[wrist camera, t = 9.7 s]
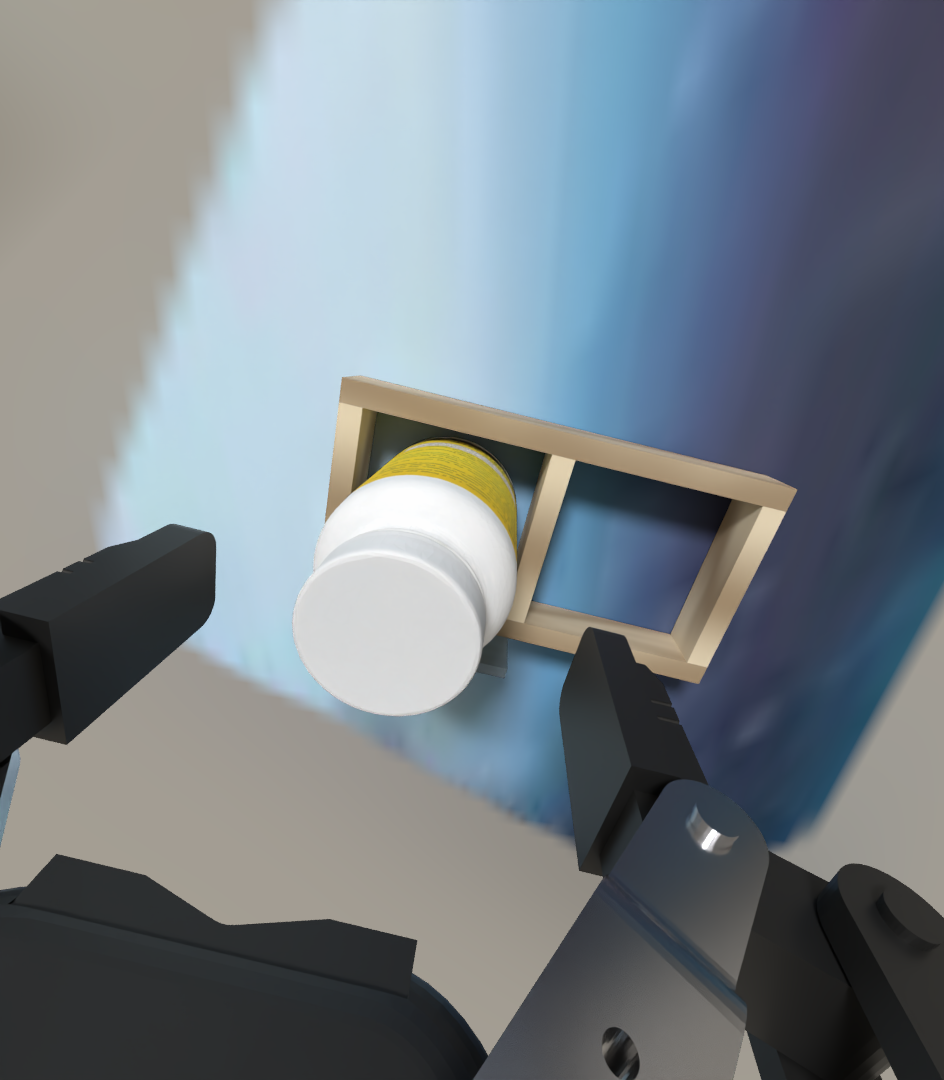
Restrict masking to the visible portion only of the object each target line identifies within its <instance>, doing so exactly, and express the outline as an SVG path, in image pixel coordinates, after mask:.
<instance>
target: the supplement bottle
mask: <svg viewBox="0 0 944 1080" xmlns="http://www.w3.org/2000/svg"><path fill="white" fill-rule="evenodd" d="M516 584H517V504H516V495H515V491H514V487H513V484H512V482H511V479H510V477H509V475H508V473H507V471H506V470H505V468H504V467H503V465H502V464H501V463H500V462H499V460H498V459H497V458H496V457H495V456H494V455H492V454H491V453H490V452H489V451H487V450H486V449H485V448H483V447H481V446H480V445H478V444H476V443H473V442H471V441H468V440H465V439H461V438H456V437H435V438H430V439H426V440H422V441H420V442H417V443H415V444H413V445H411V446H409V447H407V448H406V449H404V450H403V451H402V452H400V453H399V454H397V455H396V456H395V457H394V458H393V459H392V460H391V461H389V462H388V463H387V464H386V465H384V466H383V467H382V468H381V469H380V470H379V471H377V472H376V473H375V474H374V475H373V476H372V477H370V478H369V479H368V480H367V481H366V482H364V483H363V484H362V485H360V486H359V487H358V488H357V489H355V490H354V491H353V492H352V493H351V494H350V495H349V496H348V497H347V498H345V500H344V501H343V502H342V503H341V504H340V505H339V506H338V507H337V508H336V509H335V510H334V512H333V513H332V514H331V515H330V517H329V518H328V520H327V521H326V523H325V525H324V527H323V529H322V531H321V533H320V536H319V538H318V541H317V545H316V549H315V554H314V564H313V573H312V575H311V576H310V577H309V578H308V579H307V581H306V582H305V584H304V585H303V587H302V588H301V590H300V593H299V595H298V597H297V600H296V603H295V607H294V612H293V620H292V626H293V637H294V642H295V645H296V648H297V651H298V653H299V656H300V658H301V660H302V662H303V664H304V665H305V667H306V668H307V670H308V672H309V673H310V674H311V675H312V677H313V678H314V679H315V680H316V681H317V682H318V683H319V684H320V685H321V686H322V687H323V688H324V689H325V690H326V691H328V692H329V693H330V694H331V695H333V696H334V697H336V698H337V699H339V700H341V701H342V702H344V703H346V704H348V705H350V706H352V707H355V708H357V709H360V710H363V711H366V712H370V713H374V714H379V715H386V716H409V715H416V714H421V713H425V712H428V711H431V710H434V709H436V708H438V707H441V706H443V705H445V704H447V703H448V702H449V701H451V700H452V699H454V698H455V697H456V696H457V695H459V694H460V693H461V692H462V691H463V690H464V689H465V688H466V686H467V685H468V684H469V682H470V681H471V679H472V678H473V676H474V674H475V673H476V670H477V668H478V666H479V663H480V659H481V656H482V649H483V647H484V646H485V645H487V644H488V643H489V642H490V641H491V640H492V639H493V638H494V637H495V636H496V634H497V633H498V632H499V631H500V629H501V628H502V626H503V625H504V623H505V621H506V619H507V617H508V615H509V613H510V610H511V608H512V605H513V601H514V597H515V593H516Z"/></svg>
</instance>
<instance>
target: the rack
mask: <svg viewBox="0 0 944 1080" xmlns="http://www.w3.org/2000/svg"><path fill="white" fill-rule="evenodd" d="M377 412H381V413H385V414H389V415H393V416H397V417H401V418H406V419H410V420H414V421H418V422H422V423H426V424H430V425H434V426H438V427H442V428H446V429H450V430H454V431H458V432H463V433H467V434H471V435H475V436H479V437H483V438H487V439H491V440H495V441H499V442H503V443H507V444H511V445H515V446H520V447H524V448H528V449H532V450H536V451H540V452H544V453H545V456H544V459H543V463H542V466H541V470H540V473H539V476H538V480H537V483H536V487H535V490H534V494H533V497H532V501H531V504H530V508H529V511H528V514H527V518H526V521H525V525H524V528H523V532H522V535H521V539H520V542H519V546H518V549H517V584H516V593H515V597H514V601H513V605H512V608H511V610H510V613H509V615H508V617H507V619H506V621H505V623H504V625H503V626H502V628H501V629H500V631H499V632H498V633H497V634H496V636H495V637H494V638H493V639H492V640H491V641H490V642H489V643H488V644H487V645H485V646H484V647H483V649H482V656H481V659H480V663H479V666H478V668H477V670H476V672H480V673H484V674H488V675H492V676H497V677H501V678H505V675H506V671H507V638H510V639H514V640H519V641H523V642H527V643H531V644H535V645H539V646H544V647H548V648H552V649H556V650H560V651H564V652H569V653H573V654H575V653H576V651H577V648H578V646H579V643H580V640H581V638H582V635H583V633H584V631H585V630H586V629H587V628H588V627H593V628H597V629H601V630H605V631H609V632H613V633H617V634H621V635H624V636H625V637H626V638H627V641H628V643H629V646H630V648H631V651H632V653H633V656H634V659H635V661H636V663H640V664H644V665H646V666H647V667H648V668H649V669H650V670H651V671H652V672H653V673H656V674H660V675H664V676H668V677H672V678H677V679H681V680H685V681H689V682H693V683H697V684H699V682H700V680H701V678H702V677H703V675H704V673H705V671H706V669H707V667H708V665H709V663H710V661H711V659H712V657H713V655H714V653H715V651H716V649H717V647H718V645H719V643H720V641H721V639H722V637H723V635H724V633H725V631H726V629H727V627H728V625H729V623H730V621H731V619H732V617H733V615H734V614H735V612H736V610H737V608H738V606H739V604H740V602H741V600H742V598H743V596H744V594H745V592H746V590H747V588H748V586H749V584H750V582H751V580H752V578H753V576H754V574H755V572H756V570H757V568H758V566H759V564H760V562H761V560H762V558H763V556H764V554H765V553H766V551H767V549H768V547H769V545H770V543H771V541H772V539H773V537H774V535H775V533H776V531H777V529H778V527H779V525H780V523H781V521H782V519H783V517H784V515H785V513H786V511H787V509H788V507H789V505H790V503H791V501H792V499H793V497H794V495H795V493H796V491H797V489H795V488H793V487H791V486H788V485H786V484H784V483H782V482H779V481H777V480H775V479H773V478H771V477H768V476H766V475H762V474H758V473H754V472H750V471H745V470H741V469H737V468H733V467H729V466H725V465H721V464H717V463H713V462H709V461H705V460H701V459H697V458H693V457H689V456H685V455H681V454H676V453H672V452H668V451H664V450H660V449H656V448H652V447H648V446H644V445H640V444H636V443H632V442H628V441H624V440H620V439H616V438H612V437H607V436H603V435H599V434H595V433H591V432H587V431H583V430H579V429H575V428H571V427H567V426H563V425H559V424H555V423H551V422H547V421H543V420H539V419H534V418H530V417H526V416H522V415H518V414H514V413H510V412H506V411H502V410H498V409H494V408H490V407H486V406H482V405H478V404H474V403H470V402H465V401H461V400H457V399H453V398H449V397H445V396H441V395H437V394H433V393H429V392H425V391H421V390H417V389H413V388H409V387H405V386H401V385H397V384H392V383H388V382H384V381H380V380H376V379H372V378H368V377H364V376H351V377H342V382H341V390H340V399H339V407H338V416H337V424H336V433H335V441H334V450H333V458H332V467H331V475H330V483H329V492H328V500H327V509H326V517H325V523H326V521H327V520H328V518H329V517H330V515H331V514H332V513H333V512H334V510H335V509H336V508H337V507H338V506H339V505H340V504H341V503H342V502H343V501H344V500H345V498H347V497H348V496H349V495H350V494H351V493H352V492H353V491H354V490H355V489H357V488H358V487H359V486H360V485H362V484H363V483H364V482H366V481H367V476H368V470H369V463H370V456H371V449H372V443H373V436H374V429H375V423H376V416H377ZM575 460H577V461H581V462H585V463H589V464H593V465H597V466H601V467H605V468H609V469H613V470H617V471H621V472H625V473H629V474H634V475H638V476H642V477H646V478H650V479H654V480H658V481H662V482H666V483H670V484H674V485H678V486H682V487H686V488H691V489H695V490H699V491H703V492H707V493H711V494H715V495H719V496H723V497H727V498H731V499H732V501H731V503H730V505H729V508H728V510H727V512H726V514H725V516H724V519H723V521H722V523H721V525H720V527H719V529H718V532H717V534H716V536H715V538H714V540H713V543H712V545H711V547H710V549H709V551H708V554H707V556H706V558H705V560H704V562H703V564H702V567H701V569H700V571H699V573H698V575H697V578H696V580H695V582H694V584H693V586H692V588H691V591H690V593H689V595H688V597H687V599H686V602H685V604H684V606H683V608H682V610H681V613H680V615H679V617H678V619H677V621H676V623H675V626H674V628H673V630H672V632H671V634H667V633H662V632H658V631H654V630H650V629H646V628H642V627H638V626H634V625H629V624H625V623H621V622H617V621H613V620H609V619H605V618H600V617H596V616H592V615H588V614H584V613H580V612H576V611H571V610H567V609H563V608H559V607H555V606H551V605H547V604H543V603H538V602H534V601H531V600H532V596H533V593H534V590H535V587H536V584H537V581H538V577H539V574H540V571H541V568H542V565H543V562H544V558H545V555H546V552H547V549H548V546H549V543H550V539H551V536H552V533H553V530H554V527H555V524H556V520H557V517H558V514H559V511H560V508H561V505H562V501H563V498H564V495H565V492H566V489H567V486H568V482H569V479H570V476H571V473H572V470H573V467H574V463H575Z"/></svg>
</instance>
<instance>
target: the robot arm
mask: <svg viewBox="0 0 944 1080" xmlns="http://www.w3.org/2000/svg"><path fill="white" fill-rule="evenodd" d="M215 578H216V541H215V538H214V536H213V535H212V534H211V533H209V532H205V531H201V530H197V529H193V528H189V527H185V526H181V525H177V524H169V525H167V526H165V527H163V528H161V529H159V530H157V531H155V532H153V533H151V534H149V535H147V536H145V537H143V538H141V539H139V540H136V541H131V542H127V543H123V544H119V545H115V546H111V547H107V548H105V549H103V550H101V551H99V552H97V553H95V554H93V555H91V556H89V557H87V558H84V560H83V562H80V561H78V562H76V563H74V564H72V565H70V566H68V567H66V568H63V571H62V572H55V573H53V574H51V575H49V576H47V577H45V578H43V579H40V580H39V581H36V582H34V583H32V584H30V585H28V586H26V587H24V588H22V589H20V590H17V591H15V592H13V593H11V594H9V595H7V596H5V597H3V598H1V599H0V845H1V841H2V837H3V833H4V829H5V825H6V820H7V817H8V812H9V808H10V804H11V800H12V796H13V792H14V787H15V783H16V779H17V775H18V771H19V766H20V754H19V749H18V748H19V747H21V746H22V745H23V744H24V743H26V742H27V741H28V740H29V739H31V738H32V737H36V738H41V739H45V740H49V741H53V742H57V743H61V744H65V745H67V744H68V743H69V742H70V741H72V740H73V739H74V738H75V737H76V736H77V735H78V734H80V733H81V732H82V731H83V730H84V729H85V728H86V727H88V726H89V725H90V724H91V723H92V722H93V721H94V720H96V719H97V718H98V717H99V716H100V715H101V714H102V713H104V712H105V711H106V710H107V709H108V708H109V707H110V706H112V705H113V704H114V703H115V702H116V701H117V700H118V699H120V698H121V697H122V696H123V695H124V694H125V693H126V692H128V691H129V690H130V689H131V688H132V687H133V686H134V685H136V684H137V683H138V682H139V681H140V680H141V679H142V678H144V677H145V676H146V675H147V674H148V673H149V672H150V671H151V670H153V669H154V668H155V667H156V666H157V665H158V664H160V663H161V662H162V661H163V660H164V659H165V658H166V657H167V656H169V655H170V654H171V653H172V652H173V651H174V650H176V649H177V648H178V647H179V646H180V645H181V644H182V643H184V642H185V641H186V640H187V639H188V638H189V637H190V636H192V635H193V634H194V633H195V632H196V631H197V630H198V629H200V628H201V627H202V626H203V625H204V624H205V622H206V621H207V619H208V618H209V616H210V614H211V612H212V609H213V606H214V602H215ZM671 705H672V703H671V701H670V699H669V696H668V694H667V692H666V690H665V687H664V685H663V684H662V682H661V681H660V680H659V679H658V678H657V677H656V676H655V675H654V674H653V672H652V671H651V670H650V669H649V668H648V667H647V666H646V665H644V664H640V663H636V661H635V659H634V656H633V653H632V651H631V648H630V646H629V643H628V641H627V638H626V637H625V636H624V635H621V634H617V633H613V632H609V631H605V630H601V629H597V628H593V627H588V628H587V629H586V630H585V631H584V633H583V635H582V638H581V640H580V643H579V646H578V648H577V651H576V653H575V656H574V659H573V661H572V664H571V666H570V669H569V672H568V674H567V677H566V679H565V682H564V685H563V688H562V692H561V697H560V706H559V714H560V723H561V731H562V739H563V747H564V755H565V763H566V770H567V778H568V786H569V794H570V802H571V810H572V818H573V826H574V834H575V842H576V850H577V858H578V866H579V871H582V872H586V873H591V874H595V875H599V876H603V880H602V881H601V883H600V884H599V886H598V887H597V889H596V890H595V892H594V893H593V895H592V897H591V898H590V899H589V901H588V902H587V904H586V906H585V907H584V909H583V910H582V912H581V914H580V915H579V916H578V918H577V920H576V921H575V923H574V924H573V926H572V927H571V929H570V930H569V932H568V933H567V935H566V937H565V938H564V940H563V941H562V943H561V944H560V946H559V947H558V949H557V950H556V952H555V954H554V955H553V957H552V958H551V960H550V962H549V963H548V964H547V966H546V968H545V969H544V971H543V972H542V974H541V975H540V977H539V978H538V980H537V982H536V983H535V985H534V986H533V988H532V989H531V991H530V992H529V994H528V995H527V997H526V999H525V1000H524V1002H523V1003H522V1005H521V1006H520V1008H519V1009H518V1011H517V1012H516V1014H515V1016H514V1017H513V1019H512V1020H511V1022H510V1023H509V1025H508V1026H507V1028H506V1030H505V1031H504V1033H503V1034H502V1036H501V1037H500V1039H499V1040H498V1042H497V1044H496V1045H495V1046H494V1048H493V1050H492V1051H491V1053H490V1054H489V1056H488V1055H487V1053H486V1051H485V1049H484V1048H483V1046H482V1044H481V1042H480V1041H479V1040H478V1038H477V1037H476V1035H475V1034H474V1033H473V1031H472V1029H471V1028H470V1027H469V1025H468V1024H467V1022H466V1021H465V1019H464V1018H463V1017H462V1016H461V1015H460V1014H459V1013H458V1012H457V1010H456V1009H455V1008H454V1007H453V1006H452V1005H451V1004H450V1003H449V1001H448V1000H447V999H446V998H444V997H443V996H442V995H441V994H440V993H439V992H437V991H436V990H435V989H434V988H433V987H432V986H430V985H429V984H428V983H427V982H425V981H423V980H422V979H420V978H419V977H417V976H416V975H414V974H413V973H412V969H413V962H414V957H415V950H416V945H417V940H414V939H410V938H405V937H402V936H397V935H393V934H389V933H385V932H380V931H377V930H372V929H368V928H363V927H360V926H356V925H351V924H347V923H343V922H339V921H335V920H331V919H326V920H325V919H324V920H310V921H309V920H308V921H295V922H294V921H292V922H277V923H261V924H246V925H225V924H221V923H219V922H217V921H215V920H213V919H211V918H210V917H208V916H207V915H205V914H204V913H202V912H201V911H199V910H198V909H196V908H195V907H193V906H191V905H190V904H189V903H187V902H186V901H184V900H182V899H181V898H179V897H178V896H176V895H175V894H173V893H172V892H170V891H168V890H167V889H166V888H164V887H163V886H161V885H160V884H158V883H156V882H155V881H153V880H152V879H150V878H149V877H147V876H146V875H142V874H138V873H134V872H130V871H126V870H121V869H117V868H113V867H108V866H105V865H100V864H96V863H92V862H88V861H83V860H80V859H75V858H71V857H67V856H63V855H58V854H56V855H55V856H54V857H53V858H52V859H51V861H50V862H49V863H48V864H47V865H46V866H45V867H44V868H43V869H42V870H41V871H40V873H39V874H38V875H37V876H36V877H35V878H34V879H33V880H32V881H31V883H30V884H29V885H28V886H27V887H17V888H11V889H5V890H0V1080H733V1078H734V1074H735V1069H736V1065H737V1061H738V1057H739V1053H740V1048H741V1044H742V1040H743V1036H744V1031H745V1030H746V1031H747V1033H748V1036H749V1040H750V1043H751V1046H752V1050H753V1053H754V1056H755V1060H756V1063H757V1066H758V1070H759V1073H760V1076H761V1079H762V1080H882V1078H881V1076H880V1074H882V1073H883V1072H884V1071H885V1070H886V1069H888V1068H889V1067H890V1066H891V1067H892V1069H893V1071H894V1073H895V1076H896V1077H897V1079H898V1080H944V918H943V917H942V916H941V915H940V914H939V913H938V912H937V911H936V910H935V909H933V907H932V906H931V905H930V904H928V903H927V902H926V901H925V900H924V899H923V898H922V897H920V896H919V895H918V894H916V893H915V892H914V891H913V890H911V889H910V888H909V887H907V886H906V885H904V884H903V883H901V882H900V881H898V880H897V879H895V878H893V877H891V876H890V875H888V874H886V873H884V872H882V871H880V870H878V869H875V868H872V867H870V866H866V865H862V864H848V865H845V866H843V867H842V868H841V869H840V870H839V871H838V872H837V874H836V875H835V876H834V877H833V878H832V880H831V881H830V882H827V881H825V880H823V879H822V878H819V877H818V876H816V875H814V874H812V873H810V872H807V871H806V870H804V869H802V868H800V867H798V866H796V865H794V864H792V863H791V862H789V861H787V860H785V859H783V858H781V857H779V856H777V855H775V854H773V853H772V852H770V851H768V848H767V845H766V842H765V840H764V838H763V836H762V834H761V832H760V831H759V829H758V828H757V826H756V825H755V823H754V822H753V821H752V820H751V818H750V817H749V816H748V815H747V814H746V813H745V812H744V811H743V810H742V809H741V808H740V807H739V806H738V805H737V804H736V803H735V802H733V801H732V800H731V799H730V798H728V797H727V796H726V795H724V794H722V793H721V792H719V791H718V790H716V789H714V788H712V787H710V786H709V785H708V783H707V781H706V779H705V776H704V774H703V772H702V770H701V768H700V765H699V763H698V761H697V759H696V756H695V754H694V752H693V750H692V747H691V745H690V743H689V741H688V739H687V736H686V734H685V732H684V730H683V727H682V725H679V719H678V716H677V714H676V712H675V710H674V708H672V707H671Z"/></svg>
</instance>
